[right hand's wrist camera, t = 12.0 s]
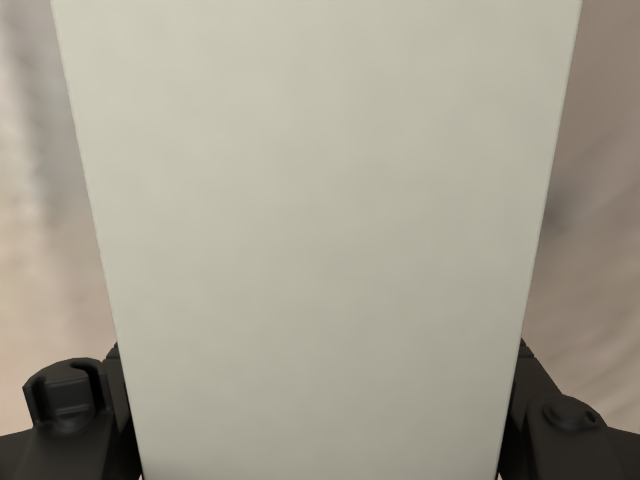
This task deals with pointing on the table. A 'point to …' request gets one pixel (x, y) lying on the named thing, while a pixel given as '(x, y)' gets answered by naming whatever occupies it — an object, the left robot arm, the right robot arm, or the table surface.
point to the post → (317, 223)
